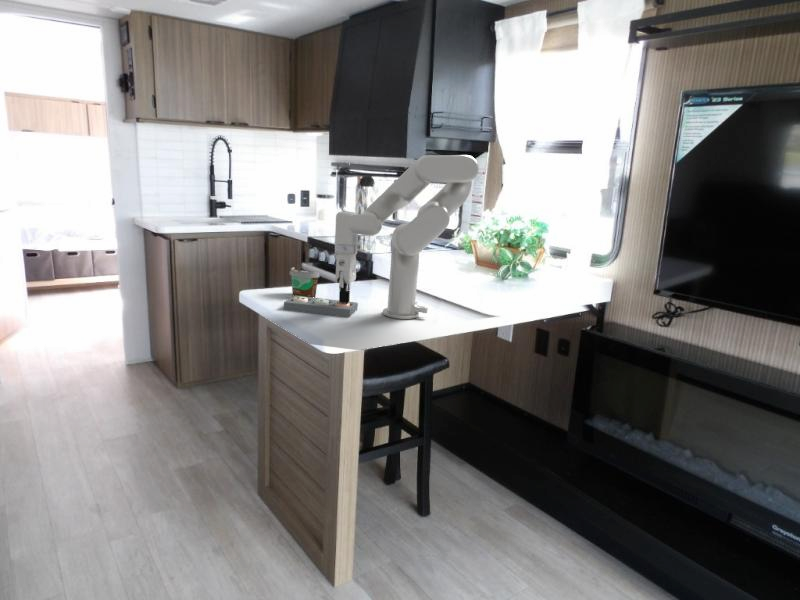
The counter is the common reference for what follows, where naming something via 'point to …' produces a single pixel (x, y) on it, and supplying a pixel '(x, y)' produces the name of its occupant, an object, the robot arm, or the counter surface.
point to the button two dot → (300, 299)
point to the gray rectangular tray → (320, 307)
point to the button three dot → (342, 304)
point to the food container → (304, 282)
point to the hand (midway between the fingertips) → (344, 302)
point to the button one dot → (321, 301)
